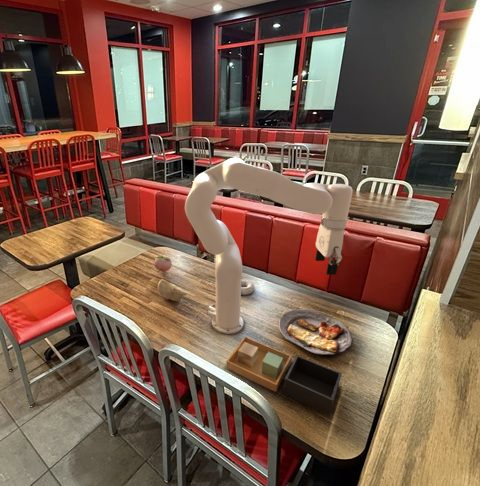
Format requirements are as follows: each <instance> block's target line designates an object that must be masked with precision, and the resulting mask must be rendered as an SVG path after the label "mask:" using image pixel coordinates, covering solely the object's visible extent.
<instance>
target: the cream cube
mask: <svg viewBox="0 0 480 486" xmlns="http://www.w3.org/2000/svg"><path fill="white" fill-rule="evenodd" d="M257 358H258V347H256V346H254V345H251V344H249V343H246V342H244V344H243V345H242V346H241V348H240V349H239V350H238V362H240V363H242V364H244V365H246V366H248V367H250V368H252V366H253V365H254V363H255V362H256V360H257Z"/></svg>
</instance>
